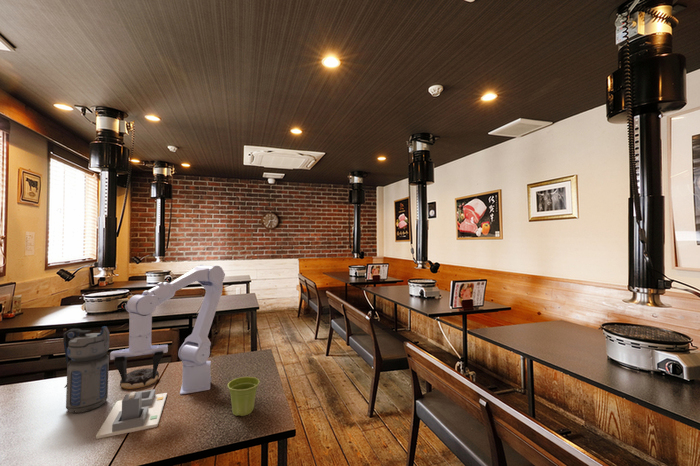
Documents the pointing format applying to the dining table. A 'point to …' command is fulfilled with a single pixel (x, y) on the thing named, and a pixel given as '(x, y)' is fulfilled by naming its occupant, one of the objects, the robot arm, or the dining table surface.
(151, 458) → the dining table surface
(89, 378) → the beverage bottle
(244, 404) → the plant pot
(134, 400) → the plug
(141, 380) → the donut
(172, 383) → the dining table surface
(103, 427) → the panel
